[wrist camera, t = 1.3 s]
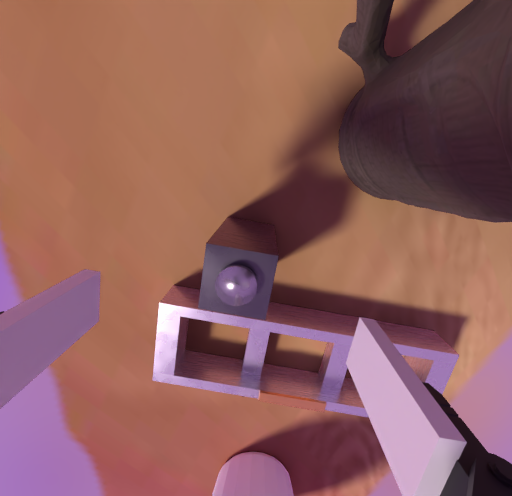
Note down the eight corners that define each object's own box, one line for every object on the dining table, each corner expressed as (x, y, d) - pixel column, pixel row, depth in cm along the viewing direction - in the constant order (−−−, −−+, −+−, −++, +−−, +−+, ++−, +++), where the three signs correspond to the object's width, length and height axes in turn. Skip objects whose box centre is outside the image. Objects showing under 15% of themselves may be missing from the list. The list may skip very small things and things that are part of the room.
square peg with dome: (227, 216, 27) (204, 245, 17) (274, 224, 27) (279, 258, 17) (221, 260, 28) (195, 312, 18) (265, 268, 28) (265, 325, 18)
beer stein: (498, 127, 24) (1456, -116, 4) (408, 227, 26) (763, 353, 7) (357, 11, 23) (787, -963, 3) (277, 126, 25) (264, -56, 6)
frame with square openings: (173, 284, 29) (158, 304, 25) (433, 330, 29) (461, 357, 25) (166, 354, 31) (151, 382, 27) (407, 395, 32) (429, 430, 27)
